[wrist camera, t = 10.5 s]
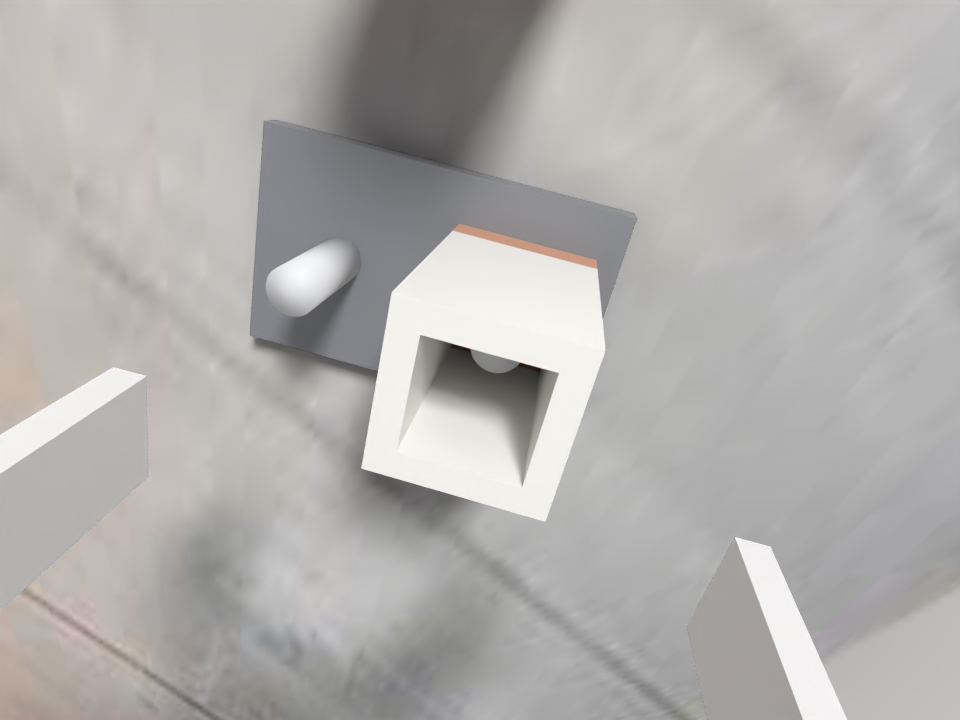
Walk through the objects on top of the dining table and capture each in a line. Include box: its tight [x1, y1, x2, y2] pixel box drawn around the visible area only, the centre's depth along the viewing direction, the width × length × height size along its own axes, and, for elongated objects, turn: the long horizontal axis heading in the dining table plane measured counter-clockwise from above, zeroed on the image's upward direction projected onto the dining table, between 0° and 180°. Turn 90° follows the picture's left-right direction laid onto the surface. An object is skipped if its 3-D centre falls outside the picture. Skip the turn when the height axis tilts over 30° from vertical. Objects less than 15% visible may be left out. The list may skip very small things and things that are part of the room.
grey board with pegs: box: [250, 120, 637, 373], centre depth 25 cm, size 16×10×6 cm, turn 77°
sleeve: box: [361, 224, 605, 521], centre depth 22 cm, size 6×6×10 cm
